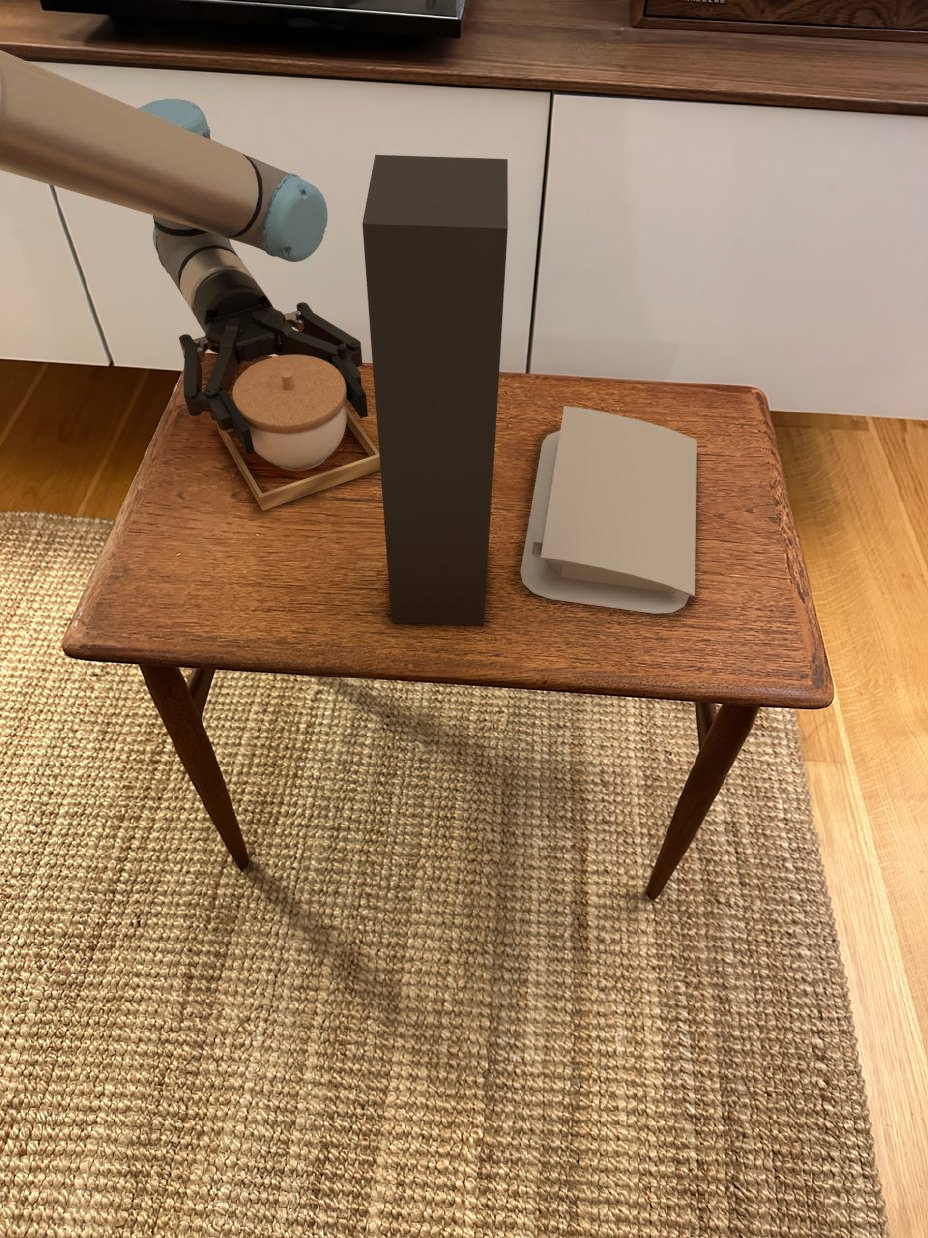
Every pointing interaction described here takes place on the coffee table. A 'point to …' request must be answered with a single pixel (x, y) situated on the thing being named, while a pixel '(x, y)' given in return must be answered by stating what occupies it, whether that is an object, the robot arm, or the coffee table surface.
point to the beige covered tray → (613, 515)
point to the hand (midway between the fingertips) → (307, 423)
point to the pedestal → (436, 373)
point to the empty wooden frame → (313, 482)
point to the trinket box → (293, 409)
